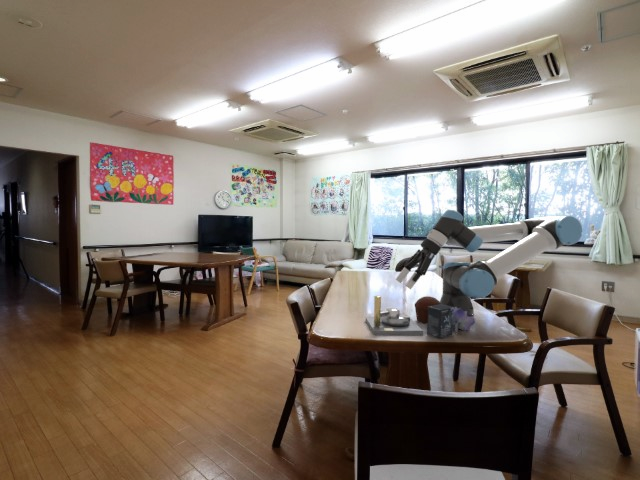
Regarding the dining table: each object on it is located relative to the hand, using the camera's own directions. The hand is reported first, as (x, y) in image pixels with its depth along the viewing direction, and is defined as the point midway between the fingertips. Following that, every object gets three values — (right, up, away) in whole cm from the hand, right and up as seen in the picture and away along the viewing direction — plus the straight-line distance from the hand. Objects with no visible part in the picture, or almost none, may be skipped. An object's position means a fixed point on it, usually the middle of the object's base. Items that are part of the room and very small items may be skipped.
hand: (402, 284), depth 135 cm
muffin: (+11, -16, +1) cm, 19 cm away
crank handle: (-7, -14, -9) cm, 18 cm away
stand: (-6, -16, -8) cm, 19 cm away
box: (+9, -16, -16) cm, 25 cm away
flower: (+19, -16, -11) cm, 28 cm away
